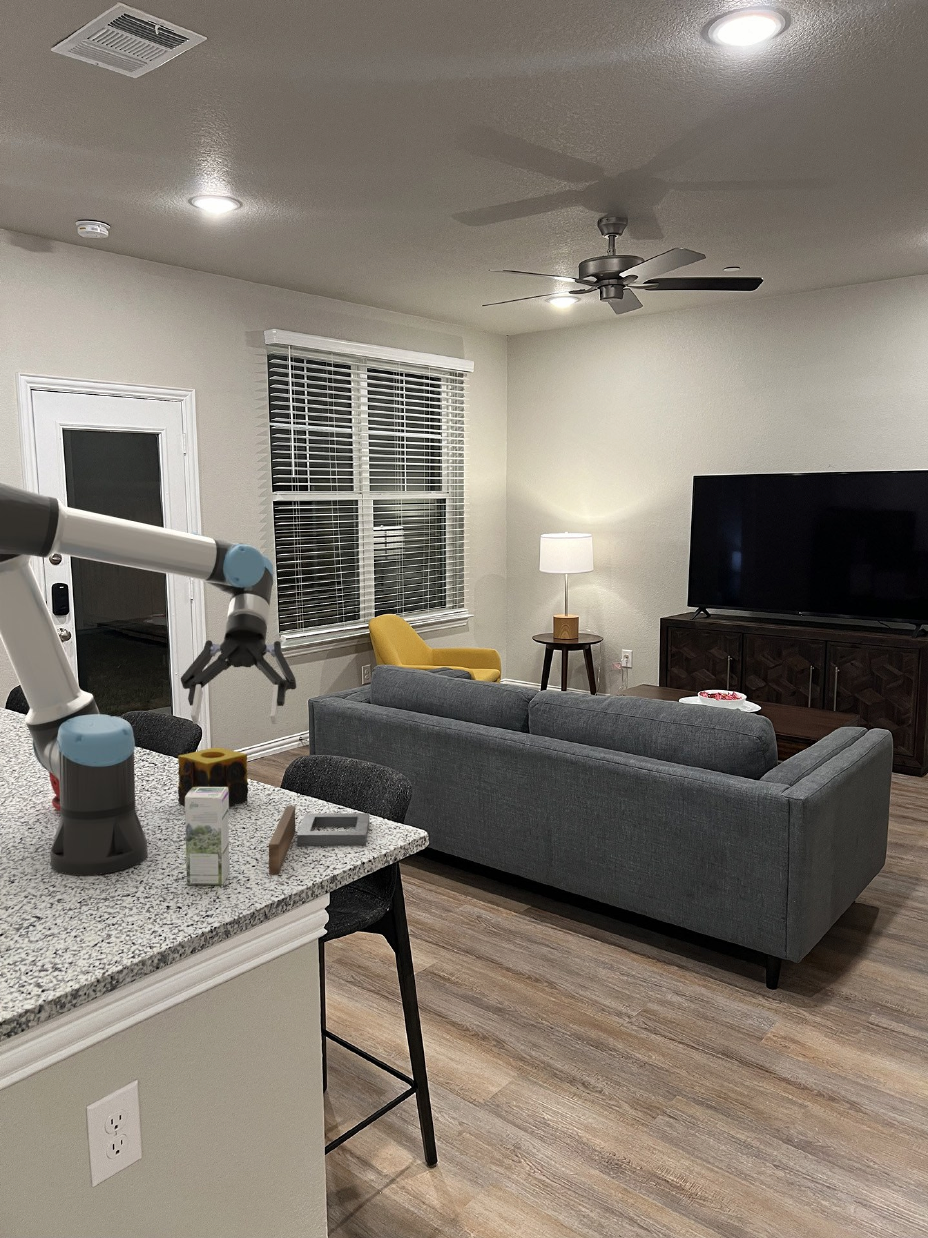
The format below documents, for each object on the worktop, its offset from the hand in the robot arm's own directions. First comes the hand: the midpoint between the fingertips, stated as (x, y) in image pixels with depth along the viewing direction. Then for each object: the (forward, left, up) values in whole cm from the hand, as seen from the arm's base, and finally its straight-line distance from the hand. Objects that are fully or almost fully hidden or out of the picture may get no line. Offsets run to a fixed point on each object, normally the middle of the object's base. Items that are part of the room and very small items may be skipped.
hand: (233, 720), depth 164 cm
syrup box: (-1, -17, -22) cm, 28 cm away
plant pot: (-33, +20, -22) cm, 44 cm away
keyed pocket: (+17, +4, -22) cm, 28 cm away
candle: (-9, +23, -22) cm, 33 cm away
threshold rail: (+9, -5, -22) cm, 24 cm away
